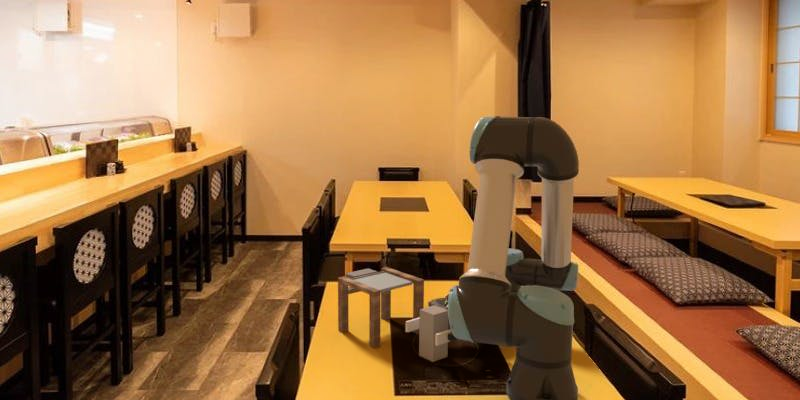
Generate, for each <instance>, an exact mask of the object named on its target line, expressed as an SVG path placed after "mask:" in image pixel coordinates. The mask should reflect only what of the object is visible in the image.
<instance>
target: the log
mask: <svg viewBox="0 0 800 400" xmlns="http://www.w3.org/2000/svg"><path fill="white" fill-rule="evenodd" d="M448 297H449V293H447V294H446V295H445V297H438V298H434V299H431V300H430V301H428V302H427V305H428V307H430V306H434V305H435V306H438V307H441V308H443V309H445V308H448Z"/></svg>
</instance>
